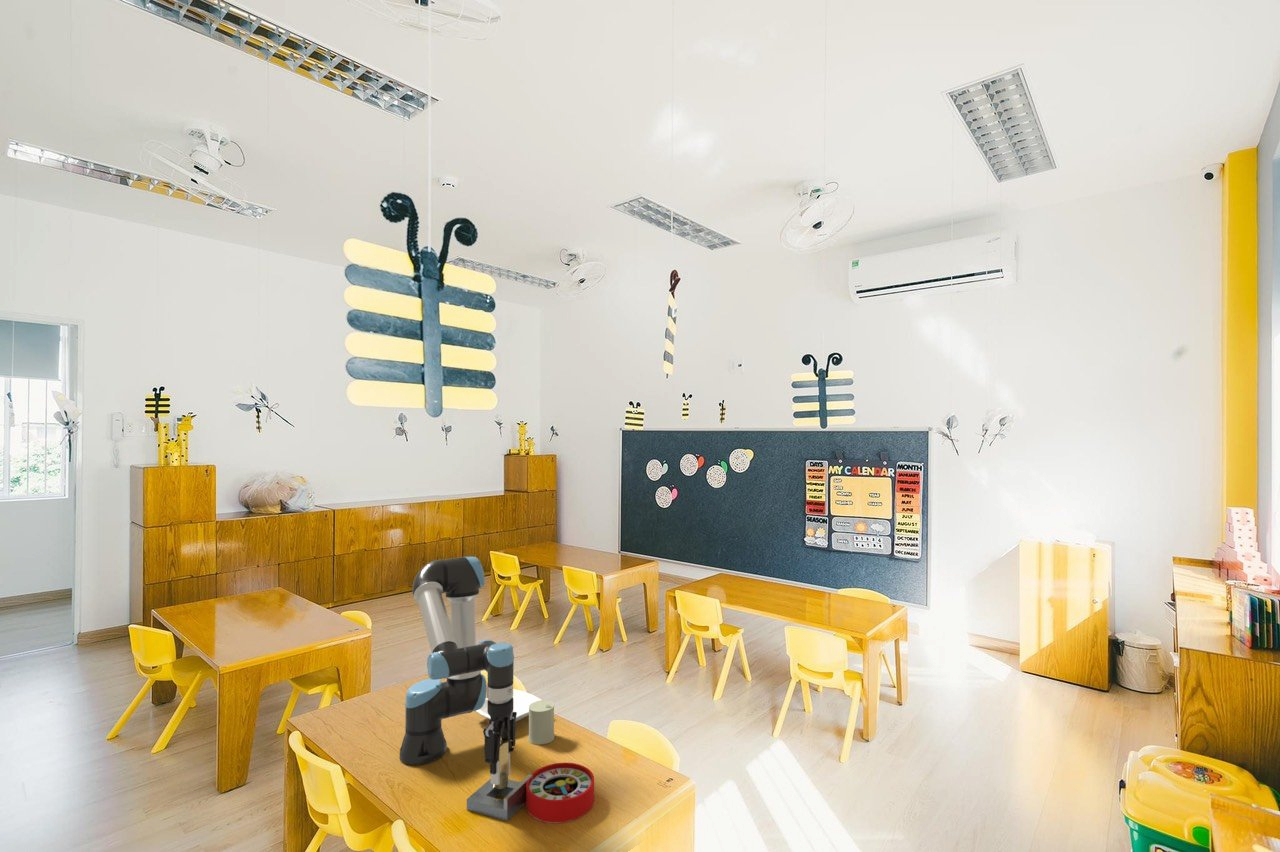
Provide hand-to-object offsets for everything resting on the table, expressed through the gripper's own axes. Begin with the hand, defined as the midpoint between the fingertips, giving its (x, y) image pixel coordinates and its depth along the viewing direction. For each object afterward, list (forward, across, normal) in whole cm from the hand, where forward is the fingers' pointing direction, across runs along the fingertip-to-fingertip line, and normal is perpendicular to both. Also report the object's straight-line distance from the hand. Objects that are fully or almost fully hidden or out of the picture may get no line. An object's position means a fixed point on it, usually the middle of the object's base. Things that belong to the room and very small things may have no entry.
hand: (500, 778), depth 172 cm
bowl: (+7, +45, +29) cm, 54 cm away
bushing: (+2, 0, 0) cm, 2 cm away
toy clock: (+7, +7, -16) cm, 19 cm away
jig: (+7, 0, 0) cm, 7 cm away
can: (+7, +37, +9) cm, 39 cm away
